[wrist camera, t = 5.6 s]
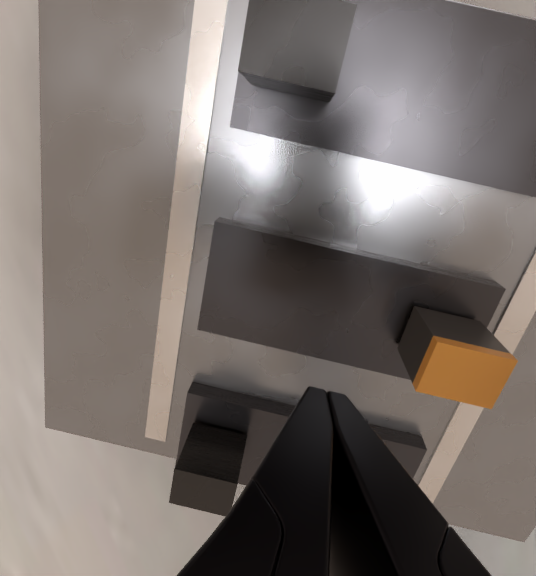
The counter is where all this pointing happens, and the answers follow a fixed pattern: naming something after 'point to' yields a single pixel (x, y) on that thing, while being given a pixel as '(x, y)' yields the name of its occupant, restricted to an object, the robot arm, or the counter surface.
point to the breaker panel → (288, 231)
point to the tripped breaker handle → (454, 358)
